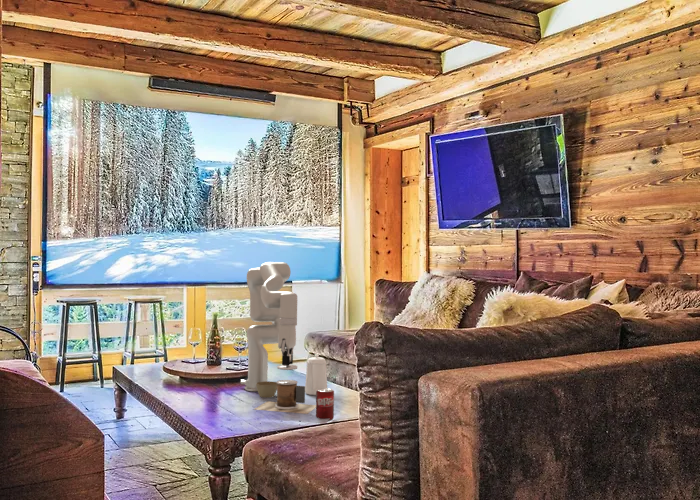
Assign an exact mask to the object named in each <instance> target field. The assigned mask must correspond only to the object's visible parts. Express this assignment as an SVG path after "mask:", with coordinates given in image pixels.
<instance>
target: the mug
mask: <svg viewBox="0 0 700 500" xmlns="http://www.w3.org/2000/svg"><path fill="white" fill-rule="evenodd" d="M276 382H277V391H276V402H277V404H275V408H276V409H279V410H294V409H297V408H298V404H305V402H306V393H305V385H298V383H299V381H298V380H293V379H281V380H277V381H276Z"/></svg>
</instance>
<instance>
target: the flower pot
mask: <svg viewBox="0 0 700 500" xmlns="http://www.w3.org/2000/svg"><path fill="white" fill-rule="evenodd" d="M256 386H257V390H258V391H257V393H258V395H259V398H265V399H267V398H273V397H275V395H276V394H277V381H268V380H267V381H265V382H258V383H256Z"/></svg>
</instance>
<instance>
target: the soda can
mask: <svg viewBox="0 0 700 500" xmlns="http://www.w3.org/2000/svg"><path fill="white" fill-rule="evenodd" d="M315 405H316V408H315V418H317V419H321V420H327V419H328V420H327V422H331V421H333V420H334V418H335V417H334V415H335V414H334V413H335V391H334V389H333V388H328V387H327V388H322V389H318V390H317V391H316V395H315Z"/></svg>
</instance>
